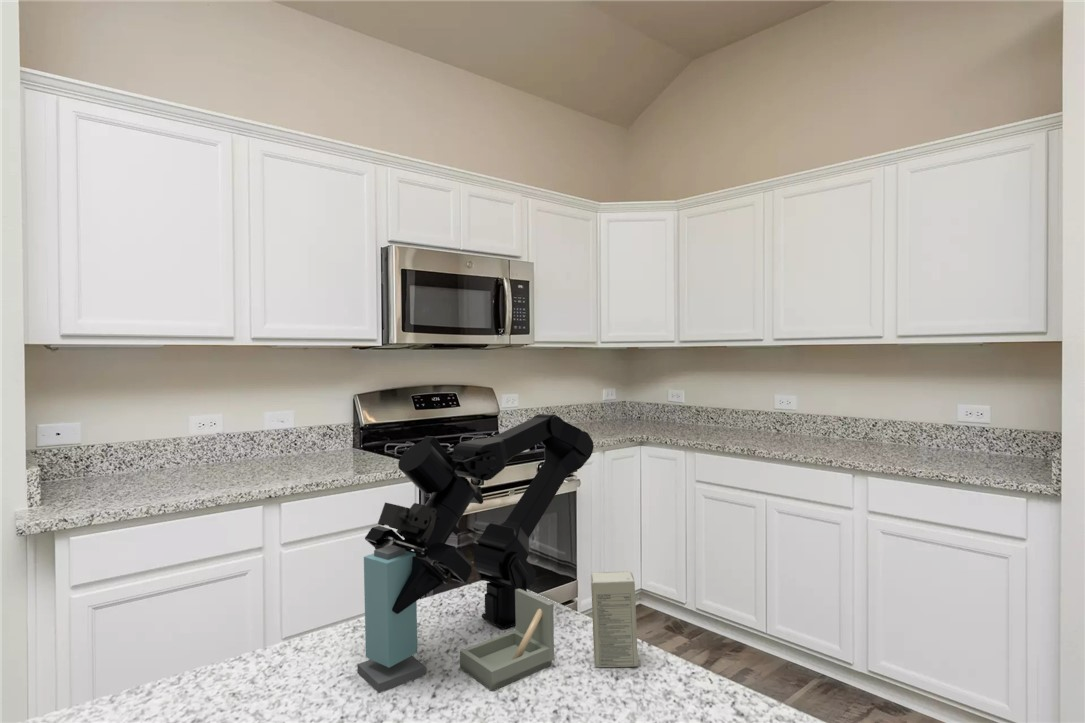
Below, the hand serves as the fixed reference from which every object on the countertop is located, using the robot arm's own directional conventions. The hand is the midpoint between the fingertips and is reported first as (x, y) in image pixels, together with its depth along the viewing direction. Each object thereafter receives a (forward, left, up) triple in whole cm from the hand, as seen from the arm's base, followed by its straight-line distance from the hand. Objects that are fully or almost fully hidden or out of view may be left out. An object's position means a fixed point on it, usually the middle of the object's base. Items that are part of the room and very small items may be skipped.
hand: (382, 607), depth 82 cm
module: (-1, 0, -7) cm, 7 cm away
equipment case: (-14, +9, -10) cm, 19 cm away
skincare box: (-27, +18, -10) cm, 34 cm away
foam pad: (-1, 0, -10) cm, 10 cm away
